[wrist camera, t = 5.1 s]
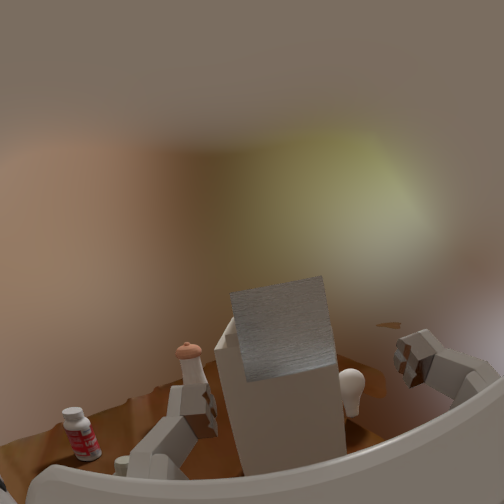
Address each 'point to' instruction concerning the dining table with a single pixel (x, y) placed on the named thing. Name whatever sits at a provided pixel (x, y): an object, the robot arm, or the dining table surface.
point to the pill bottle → (81, 434)
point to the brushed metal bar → (283, 329)
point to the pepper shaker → (191, 364)
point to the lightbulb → (351, 390)
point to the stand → (281, 413)
